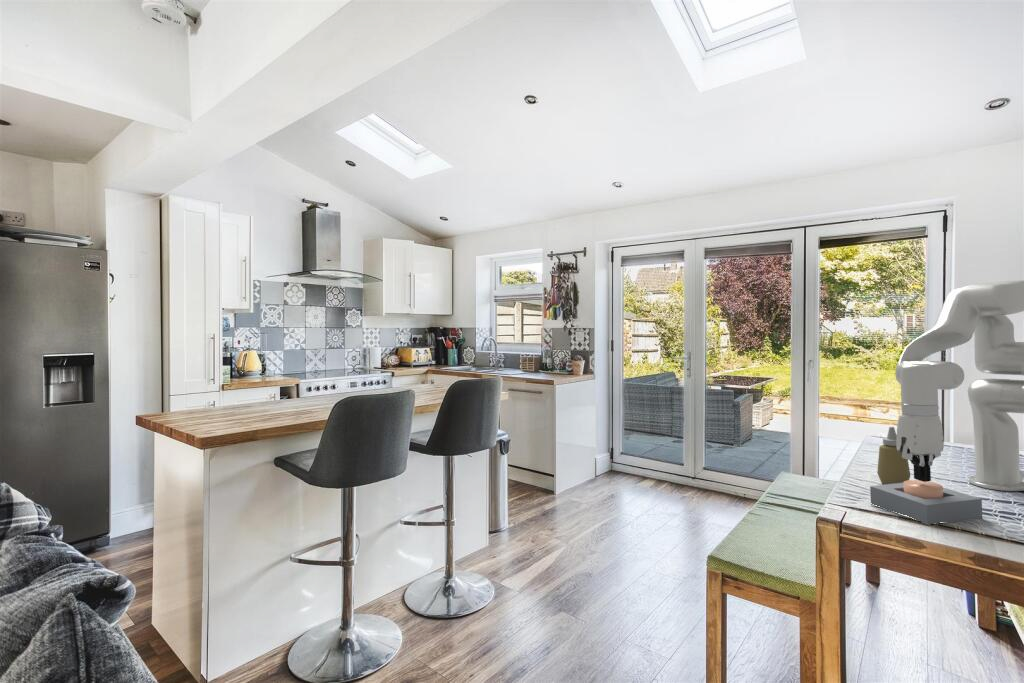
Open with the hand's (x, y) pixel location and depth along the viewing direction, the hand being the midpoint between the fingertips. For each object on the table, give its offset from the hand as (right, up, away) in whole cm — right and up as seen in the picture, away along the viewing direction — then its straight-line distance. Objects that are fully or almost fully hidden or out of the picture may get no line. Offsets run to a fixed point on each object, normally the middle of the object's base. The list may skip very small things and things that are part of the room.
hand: (922, 480), depth 131 cm
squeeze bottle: (+8, -8, +21) cm, 24 cm away
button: (0, -6, 0) cm, 6 cm away
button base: (0, -8, 0) cm, 8 cm away
